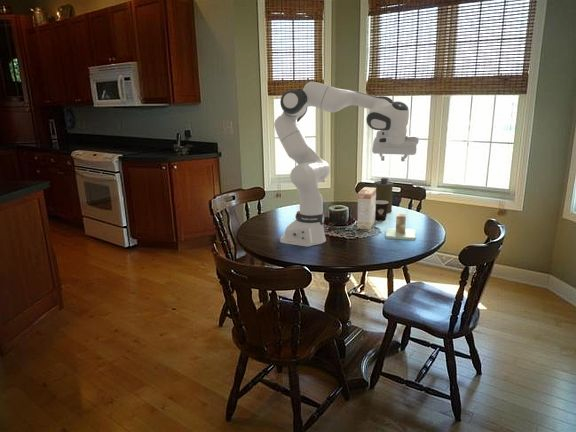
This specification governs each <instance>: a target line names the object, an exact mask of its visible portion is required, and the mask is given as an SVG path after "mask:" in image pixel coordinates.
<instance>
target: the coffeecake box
mask: <svg viewBox="0 0 576 432" xmlns="http://www.w3.org/2000/svg"><path fill="white" fill-rule="evenodd" d="M375 211H376V188H374V187H369V186H364V187H363V188H362V189H360V191H358V192H357V223H356V225H357V226H356V228H357V229H359V228H360V230H369V231H370V230H371V228H373V226H374V224H375V223H376V220H375Z"/></svg>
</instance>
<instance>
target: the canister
mask: <svg viewBox="0 0 576 432" xmlns="http://www.w3.org/2000/svg"><path fill="white" fill-rule="evenodd" d="M373 183H374V184H373V186H374V187H373V188H376V200H383V201H388V208H387V214H388V213H389V214H390V213H391V212H392V211H393V210H392V209H393V207H392V203H393V188H394V187H393V185H394V182H393V181H389V178H388V177H382V178H381V179H380V180H378V181H377V180H376V181H374V182H373Z"/></svg>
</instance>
